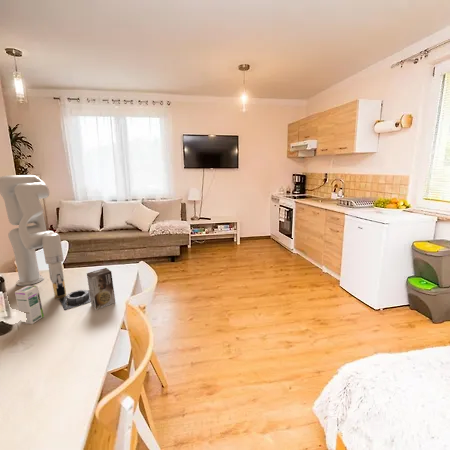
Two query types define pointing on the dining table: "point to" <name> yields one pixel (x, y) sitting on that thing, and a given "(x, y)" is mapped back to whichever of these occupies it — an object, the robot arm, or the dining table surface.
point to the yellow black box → (56, 291)
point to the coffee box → (101, 288)
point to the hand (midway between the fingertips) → (60, 292)
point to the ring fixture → (75, 299)
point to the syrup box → (29, 303)
